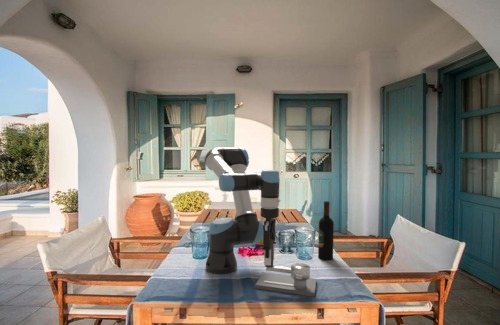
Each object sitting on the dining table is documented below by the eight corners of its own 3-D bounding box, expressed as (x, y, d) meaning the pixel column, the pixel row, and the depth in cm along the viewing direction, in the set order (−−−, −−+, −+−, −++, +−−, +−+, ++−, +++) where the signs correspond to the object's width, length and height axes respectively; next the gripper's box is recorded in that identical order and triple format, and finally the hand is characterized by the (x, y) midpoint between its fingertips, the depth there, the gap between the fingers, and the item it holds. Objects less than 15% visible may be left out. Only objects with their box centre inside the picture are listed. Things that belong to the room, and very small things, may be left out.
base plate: (255, 288, 123) (255, 275, 122) (262, 275, 135) (262, 263, 135) (314, 296, 116) (314, 282, 116) (316, 282, 128) (316, 269, 128)
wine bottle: (330, 261, 152) (331, 203, 150) (316, 258, 156) (317, 202, 154) (334, 257, 158) (336, 201, 157) (320, 254, 162) (322, 200, 161)
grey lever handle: (262, 277, 120) (262, 243, 119) (267, 267, 130) (268, 236, 129) (308, 283, 114) (309, 248, 114) (310, 272, 125) (311, 240, 124)
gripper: (274, 212, 113) (273, 272, 114) (282, 203, 131) (281, 255, 132) (255, 211, 115) (254, 269, 116) (265, 202, 133) (265, 253, 134)
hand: (269, 261), depth 124 cm, fingers open, 6 cm apart
